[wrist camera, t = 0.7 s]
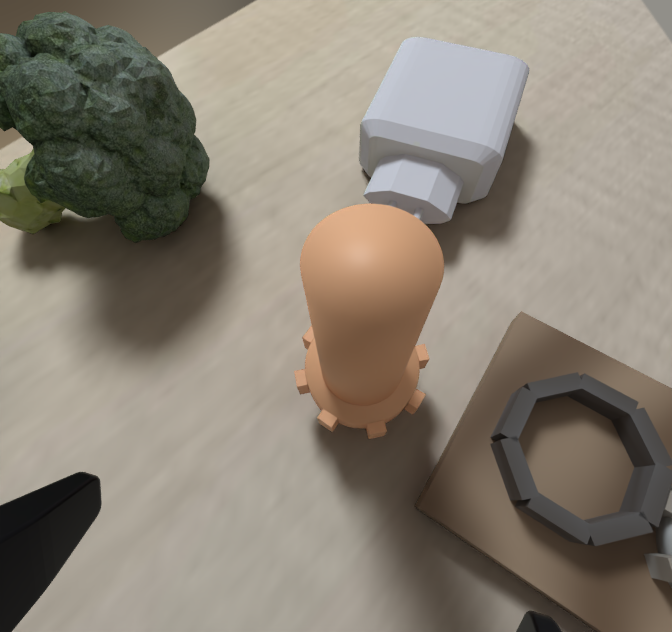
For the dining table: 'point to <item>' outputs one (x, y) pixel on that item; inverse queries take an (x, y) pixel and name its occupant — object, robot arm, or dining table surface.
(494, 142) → the charger
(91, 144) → the vegetable
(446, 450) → the gear board
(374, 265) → the gear spindle
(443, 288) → the dining table surface
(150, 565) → the dining table surface
